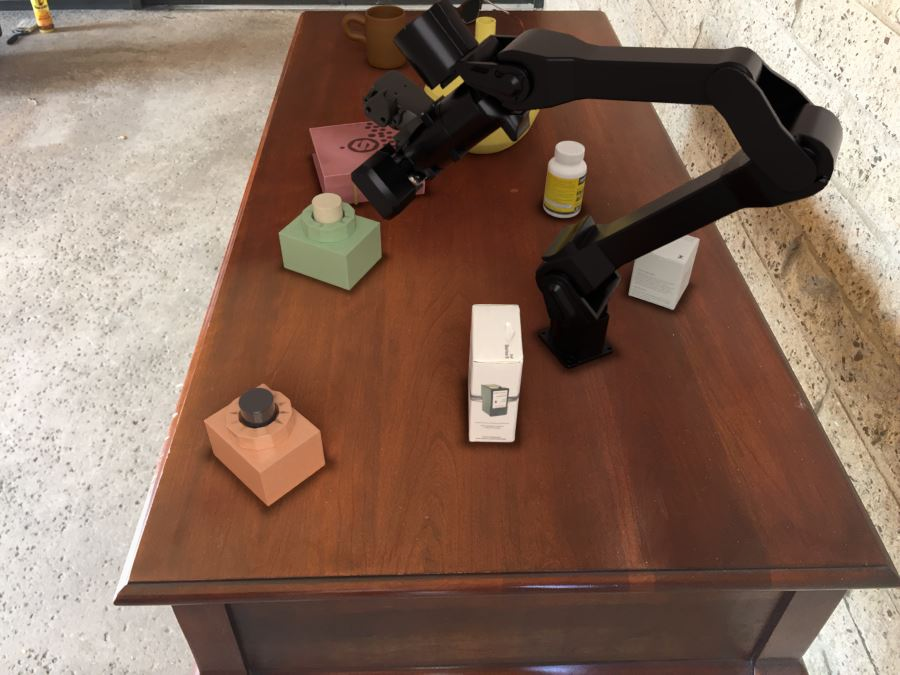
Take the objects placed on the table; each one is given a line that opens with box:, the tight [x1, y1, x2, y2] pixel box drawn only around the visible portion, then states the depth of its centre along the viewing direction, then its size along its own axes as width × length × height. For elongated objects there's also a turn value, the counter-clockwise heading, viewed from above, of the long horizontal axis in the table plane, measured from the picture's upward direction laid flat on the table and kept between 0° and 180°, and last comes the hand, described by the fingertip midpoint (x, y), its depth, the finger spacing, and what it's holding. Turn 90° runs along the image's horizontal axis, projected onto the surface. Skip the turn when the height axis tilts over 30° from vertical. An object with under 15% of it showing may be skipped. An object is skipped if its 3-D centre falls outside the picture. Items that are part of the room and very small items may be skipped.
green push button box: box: [278, 202, 383, 291], centre depth 99 cm, size 10×8×8 cm
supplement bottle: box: [542, 140, 588, 219], centre depth 109 cm, size 5×5×10 cm
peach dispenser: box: [203, 383, 326, 507], centre depth 75 cm, size 9×7×7 cm
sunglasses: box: [453, 0, 526, 33], centre depth 156 cm, size 14×16×5 cm
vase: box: [423, 16, 541, 155], centre depth 120 cm, size 18×18×19 cm
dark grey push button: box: [238, 387, 277, 428], centre depth 73 cm, size 3×3×2 cm
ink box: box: [467, 303, 524, 443], centre depth 79 cm, size 9×5×12 cm, turn 0°
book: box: [308, 120, 426, 205], centre depth 116 cm, size 14×15×5 cm
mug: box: [340, 4, 407, 70], centre depth 145 cm, size 12×8×9 cm, turn 92°
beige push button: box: [311, 192, 343, 224], centre depth 96 cm, size 4×4×2 cm
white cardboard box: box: [628, 234, 700, 311], centre depth 96 cm, size 6×6×7 cm
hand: (374, 188), depth 91 cm, fingers closed
